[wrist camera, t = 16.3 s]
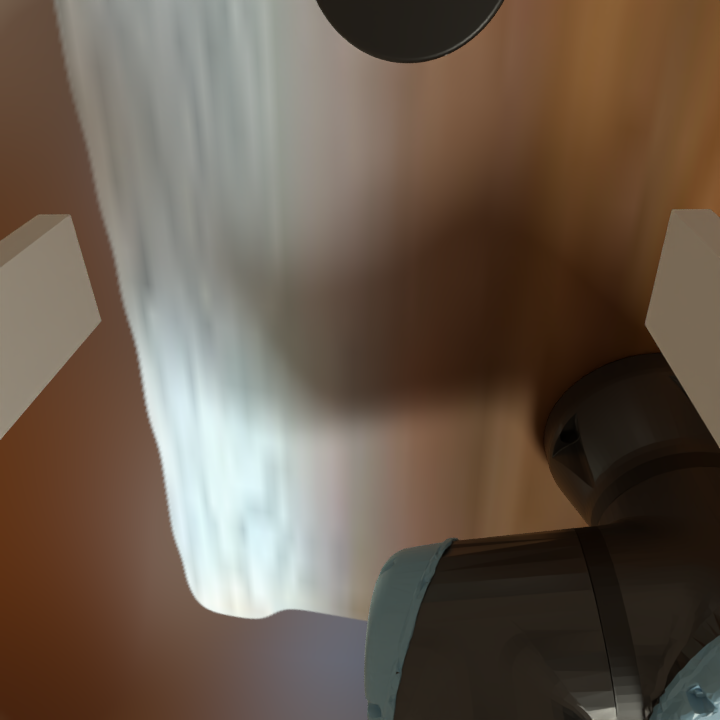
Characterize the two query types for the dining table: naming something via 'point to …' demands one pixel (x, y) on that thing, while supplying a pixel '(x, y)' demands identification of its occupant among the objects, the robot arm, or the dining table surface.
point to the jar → (409, 25)
